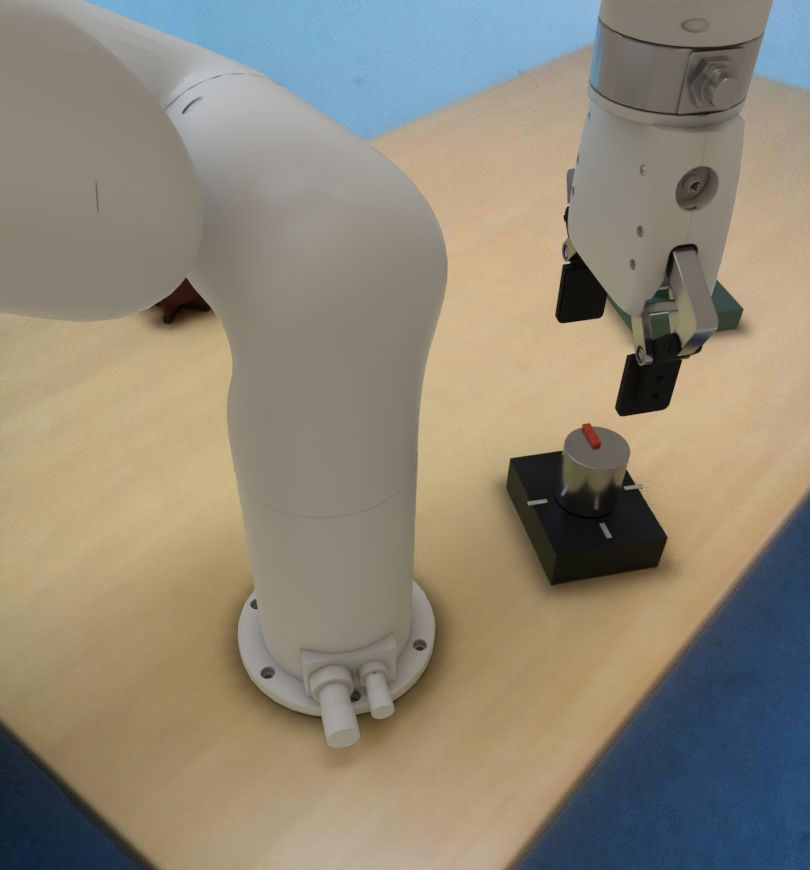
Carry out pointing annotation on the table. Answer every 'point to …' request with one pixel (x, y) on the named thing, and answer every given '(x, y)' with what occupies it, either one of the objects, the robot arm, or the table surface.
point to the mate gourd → (182, 301)
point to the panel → (582, 525)
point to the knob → (591, 471)
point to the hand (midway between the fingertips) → (608, 361)
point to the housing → (660, 324)
